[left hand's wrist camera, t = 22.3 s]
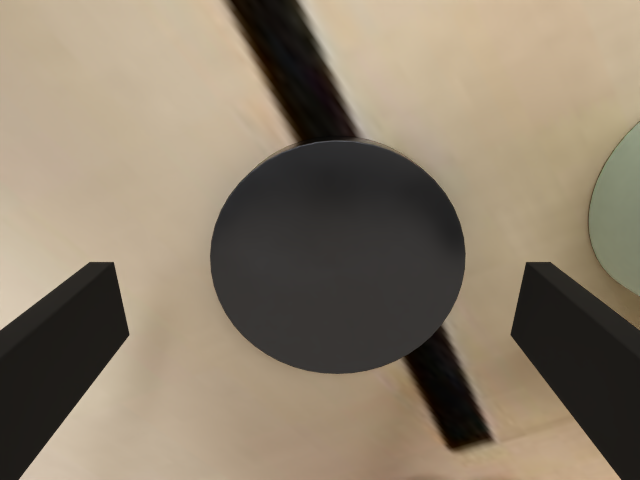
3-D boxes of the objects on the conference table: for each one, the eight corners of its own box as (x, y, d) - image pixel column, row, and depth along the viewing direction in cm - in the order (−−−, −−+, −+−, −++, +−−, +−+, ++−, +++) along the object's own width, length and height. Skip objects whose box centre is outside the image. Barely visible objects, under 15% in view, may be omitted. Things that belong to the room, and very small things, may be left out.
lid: (248, 362, 20) (240, 385, 18) (194, 156, 16) (179, 162, 15) (456, 338, 19) (468, 360, 18) (448, 117, 16) (462, 119, 14)
